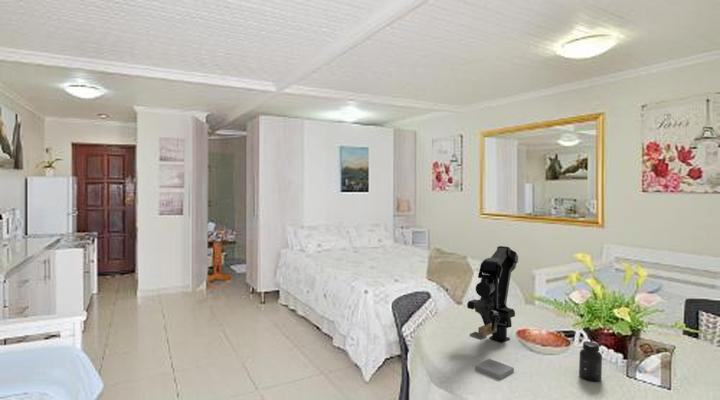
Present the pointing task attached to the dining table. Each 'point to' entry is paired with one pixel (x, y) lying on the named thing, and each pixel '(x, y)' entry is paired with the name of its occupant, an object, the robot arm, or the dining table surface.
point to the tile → (494, 369)
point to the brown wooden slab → (483, 332)
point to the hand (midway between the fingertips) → (489, 329)
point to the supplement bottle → (590, 362)
